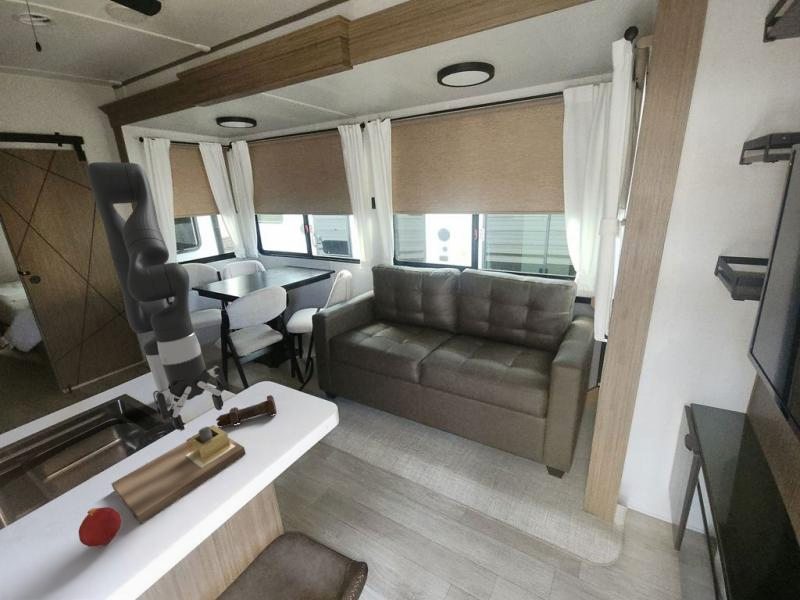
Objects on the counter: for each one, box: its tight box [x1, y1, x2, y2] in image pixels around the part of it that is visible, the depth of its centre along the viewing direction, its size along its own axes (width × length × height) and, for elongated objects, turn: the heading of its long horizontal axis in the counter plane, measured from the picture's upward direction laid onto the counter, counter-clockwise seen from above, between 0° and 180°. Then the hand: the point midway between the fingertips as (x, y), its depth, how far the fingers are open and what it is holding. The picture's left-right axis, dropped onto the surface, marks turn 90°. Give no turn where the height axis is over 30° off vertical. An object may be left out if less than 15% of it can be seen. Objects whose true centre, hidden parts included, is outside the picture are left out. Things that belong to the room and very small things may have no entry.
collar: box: [185, 424, 230, 464], centre depth 83 cm, size 6×6×4 cm
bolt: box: [215, 394, 277, 428], centre depth 98 cm, size 6×5×15 cm
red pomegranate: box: [78, 506, 122, 548], centre depth 63 cm, size 6×6×8 cm
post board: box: [110, 426, 247, 525], centre depth 80 cm, size 16×22×8 cm
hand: (200, 418), depth 81 cm, fingers open, 8 cm apart
